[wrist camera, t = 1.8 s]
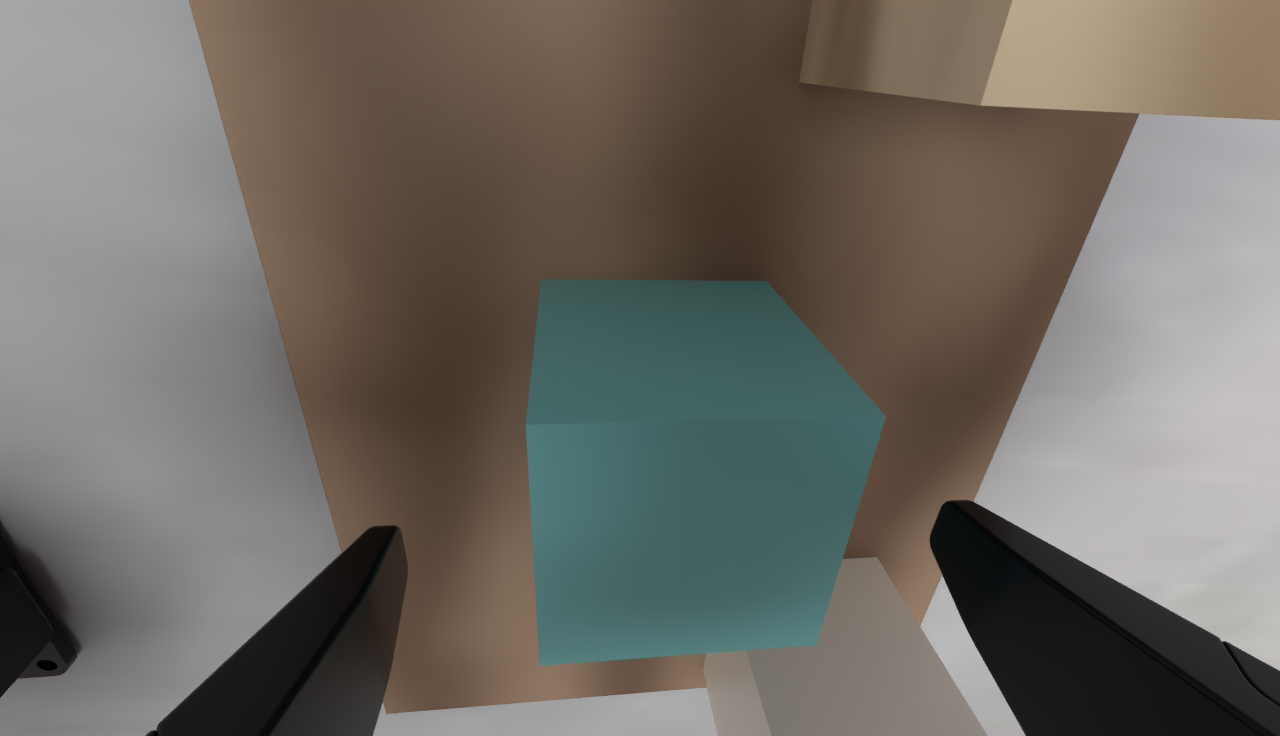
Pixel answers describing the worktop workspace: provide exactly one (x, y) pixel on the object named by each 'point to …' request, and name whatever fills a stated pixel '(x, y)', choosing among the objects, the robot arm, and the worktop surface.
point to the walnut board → (618, 264)
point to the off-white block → (843, 673)
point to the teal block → (687, 469)
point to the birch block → (1055, 53)
